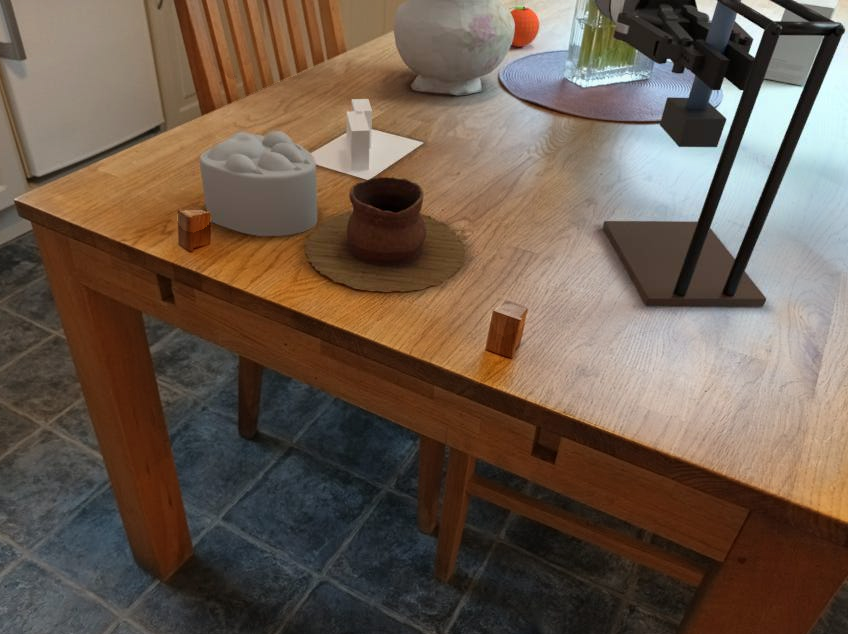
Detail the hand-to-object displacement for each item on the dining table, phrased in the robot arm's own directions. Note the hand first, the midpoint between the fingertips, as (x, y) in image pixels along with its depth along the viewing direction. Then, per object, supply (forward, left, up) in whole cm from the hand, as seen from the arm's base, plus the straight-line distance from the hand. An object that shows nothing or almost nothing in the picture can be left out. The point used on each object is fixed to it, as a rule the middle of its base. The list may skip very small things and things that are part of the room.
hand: (735, 75), depth 66 cm
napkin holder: (+43, -8, -20) cm, 49 cm away
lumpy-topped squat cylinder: (+45, +14, -20) cm, 51 cm away
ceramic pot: (+29, +14, -20) cm, 38 cm away
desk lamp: (0, 0, -20) cm, 20 cm away
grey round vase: (+44, -41, -20) cm, 64 cm away
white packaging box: (-5, -76, -20) cm, 79 cm away
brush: (+3, -5, -8) cm, 10 cm away
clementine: (+42, -68, -20) cm, 83 cm away
